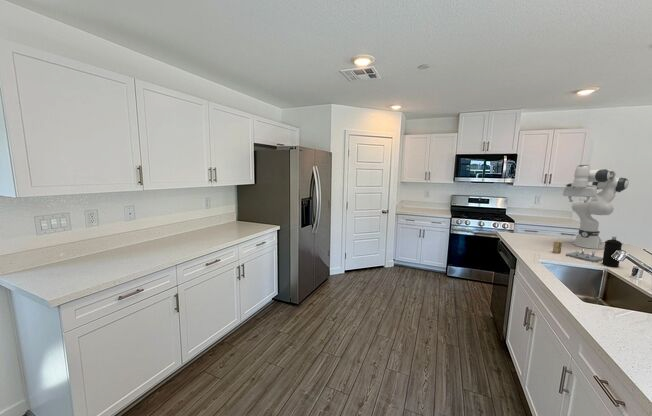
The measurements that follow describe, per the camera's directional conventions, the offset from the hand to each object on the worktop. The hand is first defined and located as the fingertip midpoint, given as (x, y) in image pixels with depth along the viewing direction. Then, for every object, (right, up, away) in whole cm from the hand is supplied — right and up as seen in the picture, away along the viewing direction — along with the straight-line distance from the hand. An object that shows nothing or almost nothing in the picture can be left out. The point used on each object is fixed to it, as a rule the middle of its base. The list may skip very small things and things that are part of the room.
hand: (578, 202), depth 214 cm
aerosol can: (-9, -44, -32) cm, 55 cm away
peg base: (-11, -42, -16) cm, 46 cm away
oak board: (-21, -40, -4) cm, 45 cm away
